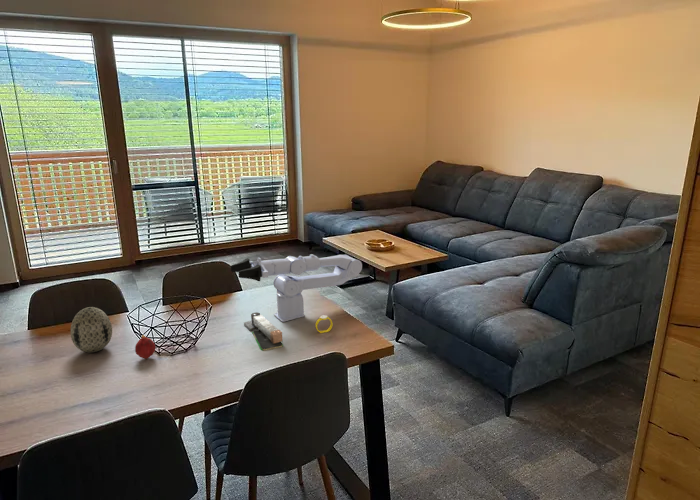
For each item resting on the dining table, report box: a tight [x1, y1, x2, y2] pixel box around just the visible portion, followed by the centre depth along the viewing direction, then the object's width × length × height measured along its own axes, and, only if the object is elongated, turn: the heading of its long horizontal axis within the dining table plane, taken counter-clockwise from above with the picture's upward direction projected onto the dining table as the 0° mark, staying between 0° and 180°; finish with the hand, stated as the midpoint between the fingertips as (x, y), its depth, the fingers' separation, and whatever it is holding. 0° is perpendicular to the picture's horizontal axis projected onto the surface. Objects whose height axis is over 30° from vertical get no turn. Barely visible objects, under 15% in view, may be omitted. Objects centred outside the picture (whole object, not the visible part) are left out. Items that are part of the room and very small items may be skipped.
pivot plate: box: [243, 320, 259, 332], centre depth 170 cm, size 7×6×1 cm
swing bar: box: [250, 312, 283, 343], centre depth 163 cm, size 3×20×3 cm, turn 33°
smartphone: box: [251, 329, 284, 352], centre depth 160 cm, size 8×1×15 cm
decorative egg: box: [70, 306, 113, 354], centre depth 151 cm, size 12×12×15 cm
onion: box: [134, 334, 156, 360], centre depth 147 cm, size 6×6×8 cm
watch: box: [314, 314, 334, 334], centre depth 165 cm, size 6×3×6 cm, turn 112°
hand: (234, 271), depth 162 cm, fingers open, 7 cm apart
